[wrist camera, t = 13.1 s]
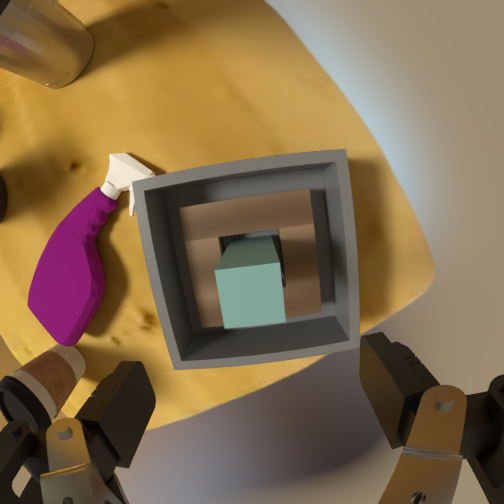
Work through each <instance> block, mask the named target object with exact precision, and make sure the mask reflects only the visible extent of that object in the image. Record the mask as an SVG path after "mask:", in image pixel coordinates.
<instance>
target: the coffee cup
mask: <svg viewBox="0 0 504 504" xmlns="http://www.w3.org/2000/svg"><path fill="white" fill-rule="evenodd" d="M85 371H86V362H85V359H84V357H83V356H82V354H81V353H80V351H79V350H78V349H77V348H76V347H75V346H70V347H67V346H63V345H61V344H59V343H58V344H56V345H55V346H53V347H52V348H50V349H49V350H47V351H46V352H44V353H42V354H41V355H39V356H38V357H36V358H34V359H33V360H31V361H30V362H28V363H27V364H25V365H24V366H22V367H20V368H19V369H17V370H16V371H15V372H14V374H13V375H11V376H5V377H4V378H3V379H2V380H1V381H0V410H1V412H2V414H3V416H4V417H5V419H6V420H7V422H8V423H10V422H12V421H14V420H18V419H23V420H26V421H27V422H28V423H29V424H30V426H31V427H32V429H33V430H34V431H47V430H48V428H49V427H50V426H51V425H52V423H51V421H52V420H53V419H54V418H56V417H57V415H58V413H59V412H60V410H61V408H62V407H63V405H64V404H65V402H66V400H67V399H68V397H69V396H70V394H71V392H72V391H73V389H74V388H75V386H76V384H77V383H78V382H79V380H80V379H81V377H82V376H83V374H84V373H85Z"/></svg>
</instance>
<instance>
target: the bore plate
mask: <svg viewBox="0 0 504 504" xmlns="http://www.w3.org/2000/svg"><path fill="white" fill-rule="evenodd" d="M179 212H180V219H181V225H182V230H183V236H184V242H185V247H186V253H187V258H188V263H189V268H190V274H191V279H192V283H193V288H194V293H195V298H196V303H197V307H198V312H199V316H200V321H201V325H202V328H207V327H217V326H224V322H223V316H222V311H221V305H220V299H219V294H218V288H217V282H216V276H215V269H216V267H217V265H218V263H219V261H220V259H221V258H222V256H223V254H224V252H225V249H224V243H223V236H228V235H235V234H242V233H249V232H256V231H264V230H271V229H278V237H279V244H280V252H281V260H282V268H283V276H284V278H282V288H283V297H284V307H285V318H290V317H297V316H304V315H310V314H316V313H322V309H321V295H320V282H319V270H318V259H317V249H316V240H315V230H314V222H313V213H312V205H311V197H310V190H309V189H303V190H294V191H286V192H278V193H271V194H264V195H256V196H249V197H243V198H236V199H229V200H223V201H217V202H210V203H204V204H198V205H193V206H187V207H182V208H179Z"/></svg>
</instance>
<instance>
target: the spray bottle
mask: <svg viewBox="0 0 504 504" xmlns="http://www.w3.org/2000/svg"><path fill="white" fill-rule="evenodd" d="M154 176H156V175H155V173H154V172H153V171H151V170H150V169H148V168H147V167H146V166H144V165H143V164H141V163H140V162H138V161H137V160H135V159H134V158H133V157H131V156H130V155H128V154H126V153H118V154H110V166H109V171H108V173H107V176H106V178H105V179H106V181H105V183H104V184H103V186H102V187H101V188H99V187H97V188H96V189H95V190H93V191H92V192H91V193H90V194H89V195H88V196H87V197H85V198H84V199H83V200H82V201H81V202H80V203H79V204H78V205H77V206H76V207H75V208H74V209H73V210H72V211H71V212H70V213H69V214H68V215H67V216H66V218H65V219H64V220H63V221H62V222H61V223H60V224H59V225H58V227H57V228H56V230H55V231H54V233H53V234H52V236H51V237H50V239H49V241H48V243H47V245H46V247H45V249H44V251H43V253H42V255H41V257H40V259H39V262H38V265H37V268H36V271H35V274H34V277H33V280H32V283H31V286H30V290H29V296H28V307H29V309H30V310H31V311H32V313H33V314H34V315H35V316H36V318H37V319H38V320H39V322H40V323H41V324H42V325H43V326H44V328H45V329H46V330H47V331H48V332H49V334H50V335H51V336H52V337H53V338H54V339H55V341H56V342H58V343H59V344H61V345H63V346H67V347H70V346H73V345H75V344H76V343H77V342H78V341H79V339H80V338H81V336H82V335H83V334H84V332H85V330H86V328H87V327H88V325H89V323H90V321H91V320H92V318H93V316H94V314H95V313H96V311H97V309H98V308H99V306H100V303H101V301H102V299H103V296H104V290H105V278H104V270H103V266H102V262H101V259H100V256H99V253H98V250H97V247H96V244H95V240H96V236H97V235H98V234H99V232H100V227H101V226H102V225H103V224H104V223H105V222H107V218H108V214H109V213H110V212H112V211H113V210H115V209H117V198H118V196H119V195H120V193H121V191H127V190H130V207H129V208H130V216H134V213H135V208H136V207H135V200H134V194H133V187H132V182H133V181H137V180H141V179H145V178H150V177H154Z"/></svg>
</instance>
